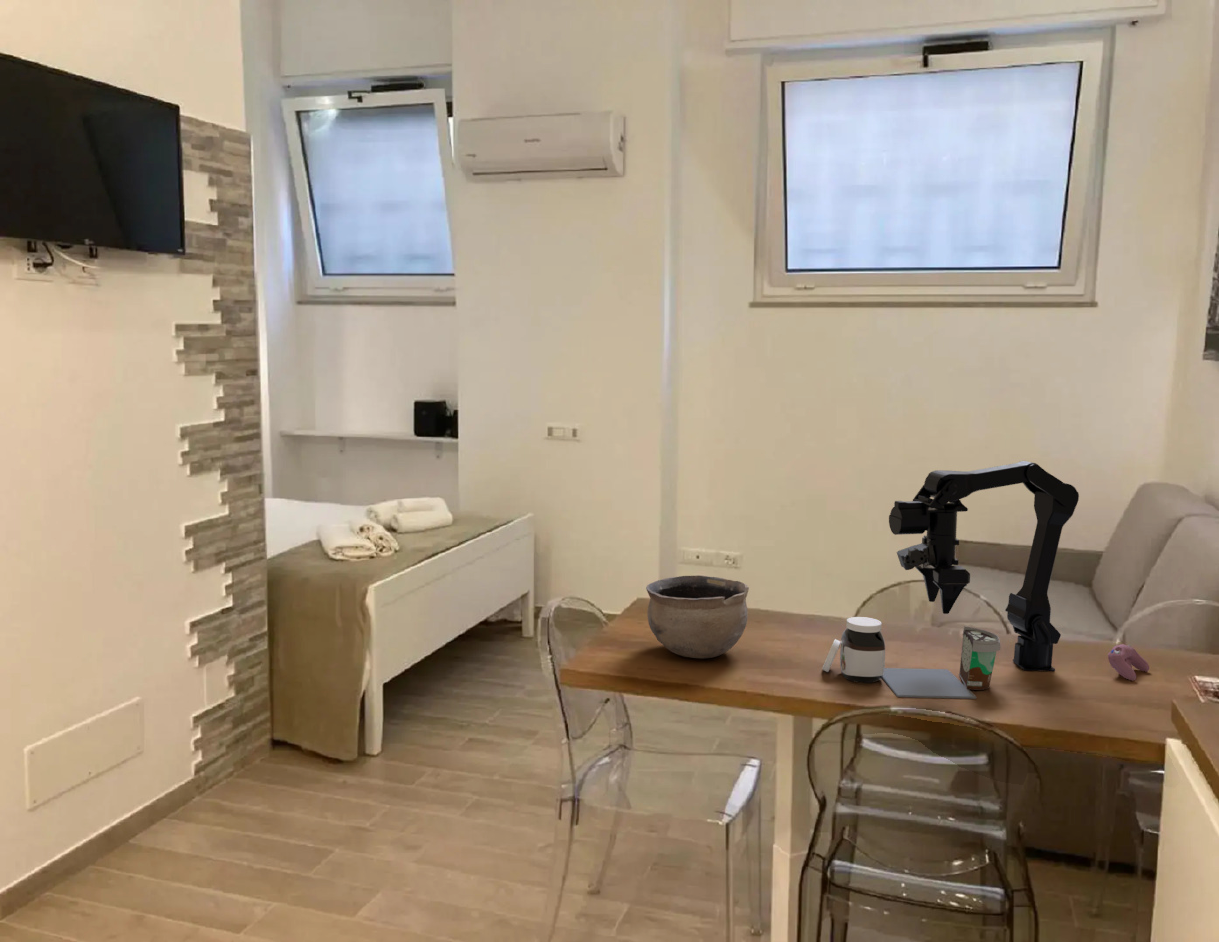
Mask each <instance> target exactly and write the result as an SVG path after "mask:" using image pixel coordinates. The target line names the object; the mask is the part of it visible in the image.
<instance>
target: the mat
mask: <svg viewBox="0 0 1219 942" xmlns="http://www.w3.org/2000/svg"><path fill="white" fill-rule="evenodd" d="M881 679H882V680H883V681H884V683H886V685H887V686H888V687H889V689H890V690H891V691H892V692H893V694H894V695H895V696H896V697H897V698H919V699H920V698H921V699H922V698H924V699H968V700H969V699H972V700H973V699H974V700H975V699H977V696H976V695H975V694H974V693H973V692H972V691H971V689H966V687H965V685H964V683H963V682H962V681H960V679H958V678H957V677H956V676H955V675H954V674H953V673H952V672H951V671H950V670H949V669H947V668H903V667H902V668H901V667H884V674H883V677H882V678H881Z"/></svg>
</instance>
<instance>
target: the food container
mask: <svg viewBox="0 0 1219 942" xmlns="http://www.w3.org/2000/svg"><path fill="white" fill-rule="evenodd" d="M961 646H962V647H961V653H960V654H961V655H960V662H959V663H960V664H959V674H958V675H959V677H960V679H961V682H962V683H963V684H964V685H965V687H966V689H969V690H970V691H971V690H973V691H974V690H975V691H978V690H979V691H981V690H988V689H989V688H990V684H991V679H992V674H993V670H994V665H995V661H996V657H997V656H996V655H997V652H999V651H1000V650H1002V649H1001V640H1000V637H999V636H998V635H997V634H995V633H993V632H991V631H987V630H986V629H980V628H977V627H973V626H972V627H971V626H966V625H965V626H963V631H962V645H961Z"/></svg>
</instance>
